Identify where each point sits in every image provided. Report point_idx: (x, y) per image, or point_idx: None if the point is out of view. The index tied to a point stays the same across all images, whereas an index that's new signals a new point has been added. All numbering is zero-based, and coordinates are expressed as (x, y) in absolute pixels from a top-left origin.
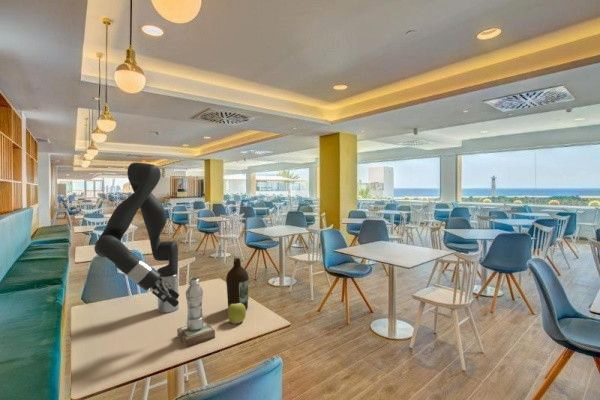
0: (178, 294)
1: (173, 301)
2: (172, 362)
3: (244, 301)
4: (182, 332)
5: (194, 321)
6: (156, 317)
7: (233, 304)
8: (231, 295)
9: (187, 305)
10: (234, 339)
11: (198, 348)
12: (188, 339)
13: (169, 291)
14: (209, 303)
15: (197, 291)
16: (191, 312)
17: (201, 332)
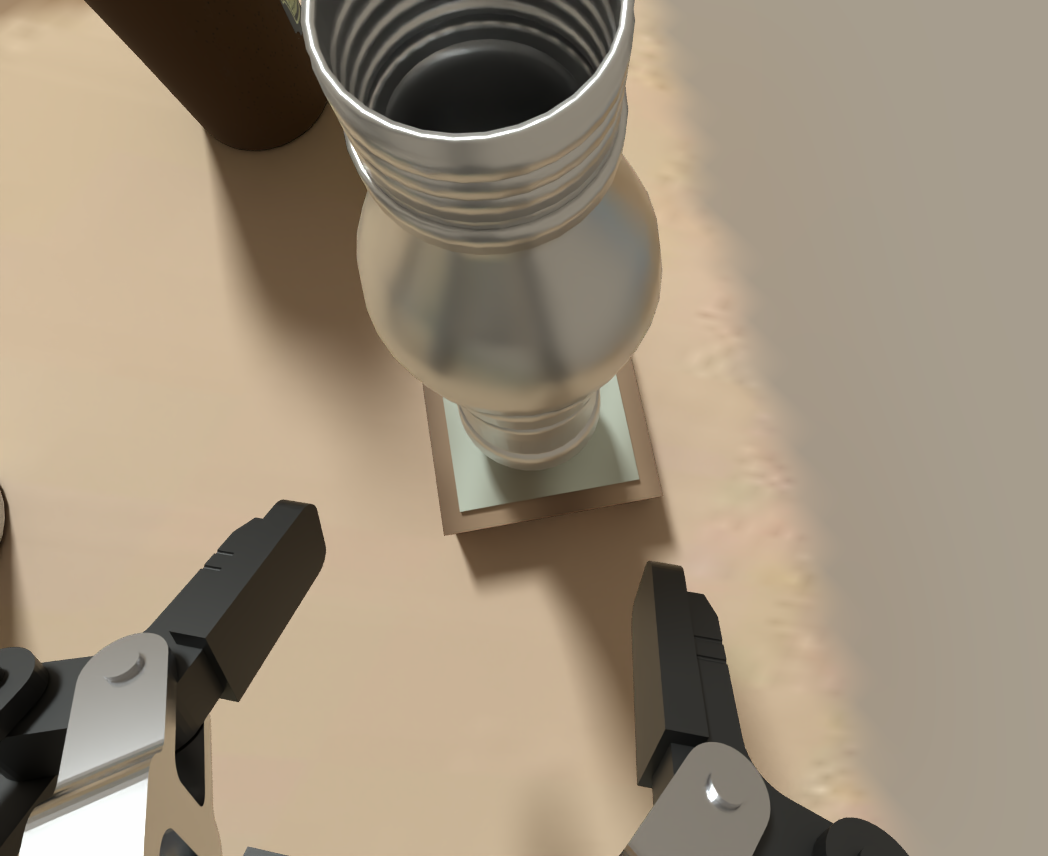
0: (300, 514)
1: (723, 670)
2: (811, 615)
3: None
4: (532, 508)
5: (597, 406)
6: (33, 639)
7: None
8: (218, 13)
9: (519, 428)
10: (691, 219)
11: (703, 436)
12: (658, 484)
13: (201, 693)
14: (37, 236)
15: (645, 196)
16: (584, 409)
17: (617, 383)
